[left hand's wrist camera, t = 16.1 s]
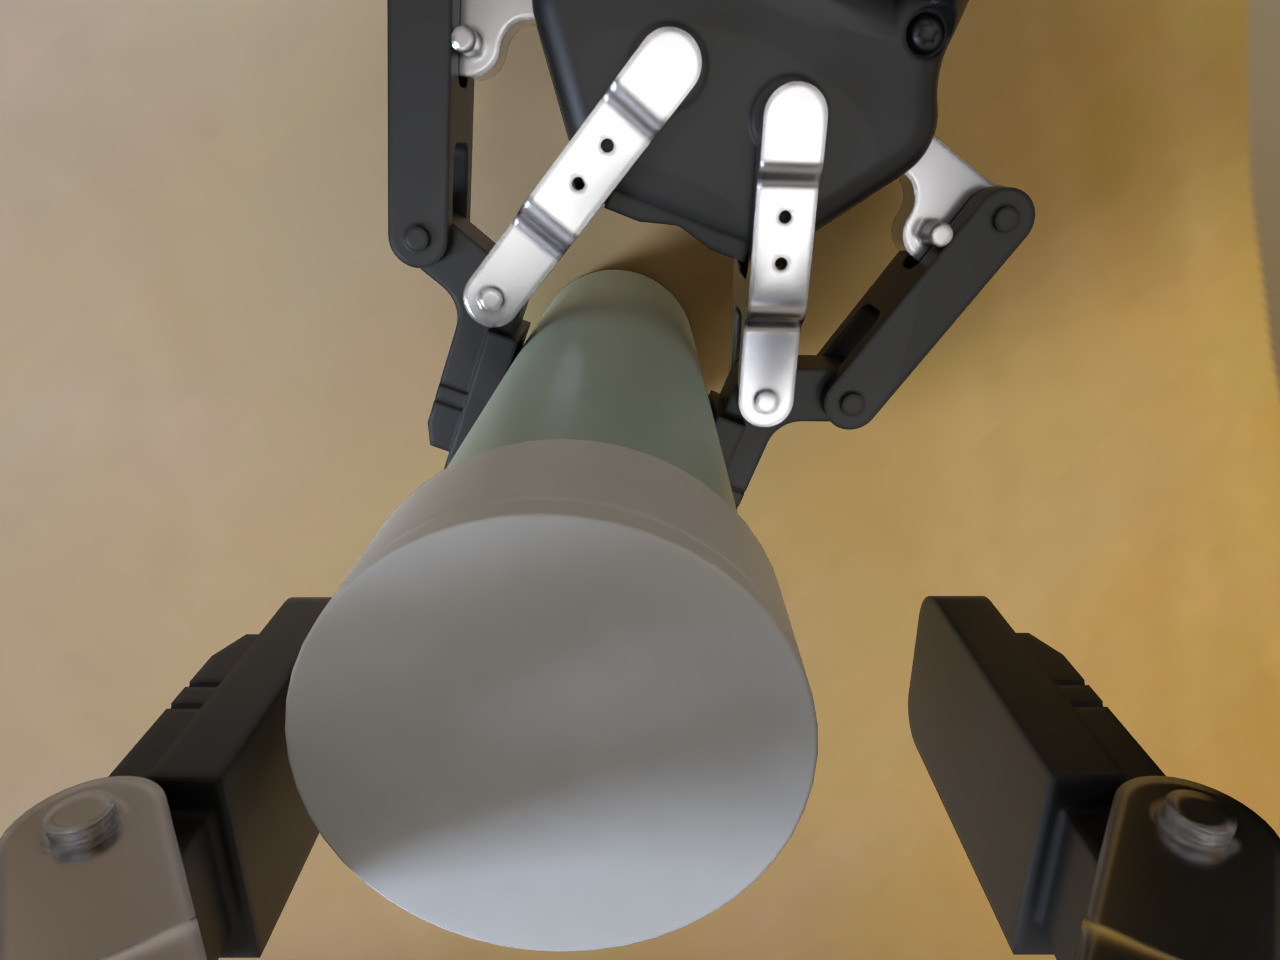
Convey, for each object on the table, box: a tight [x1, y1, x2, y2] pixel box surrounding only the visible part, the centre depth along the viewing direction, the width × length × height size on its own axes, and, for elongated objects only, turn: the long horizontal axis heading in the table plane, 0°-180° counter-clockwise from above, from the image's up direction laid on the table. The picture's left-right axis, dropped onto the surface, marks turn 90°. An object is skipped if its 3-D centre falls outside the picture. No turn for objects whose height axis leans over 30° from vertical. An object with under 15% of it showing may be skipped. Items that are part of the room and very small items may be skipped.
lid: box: [285, 439, 818, 952], centre depth 9 cm, size 5×5×2 cm
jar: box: [447, 270, 738, 514], centre depth 17 cm, size 5×5×18 cm
